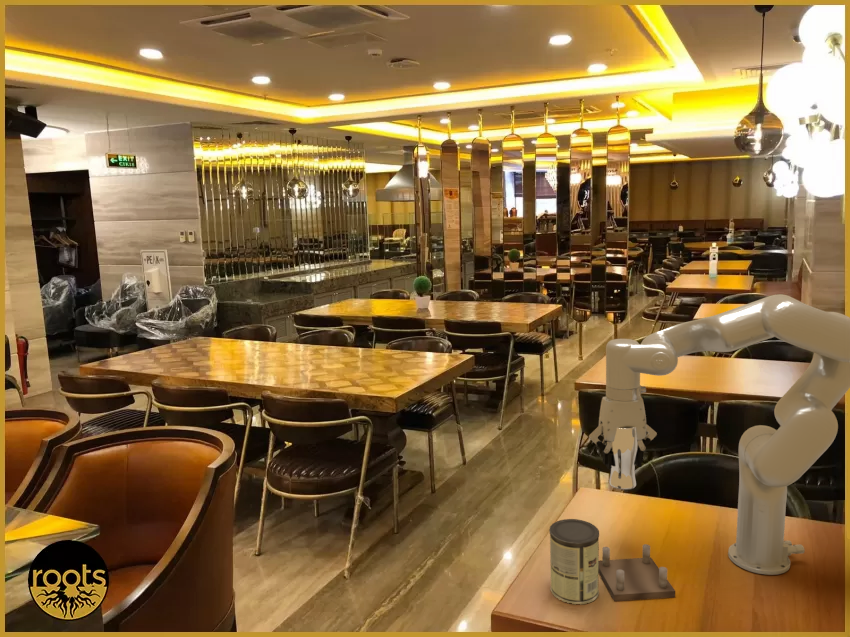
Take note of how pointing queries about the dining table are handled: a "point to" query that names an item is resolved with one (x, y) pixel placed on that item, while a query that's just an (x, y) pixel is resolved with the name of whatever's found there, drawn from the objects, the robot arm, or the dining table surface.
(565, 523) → the coffee can
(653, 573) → the peg stand
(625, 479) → the beer glass
